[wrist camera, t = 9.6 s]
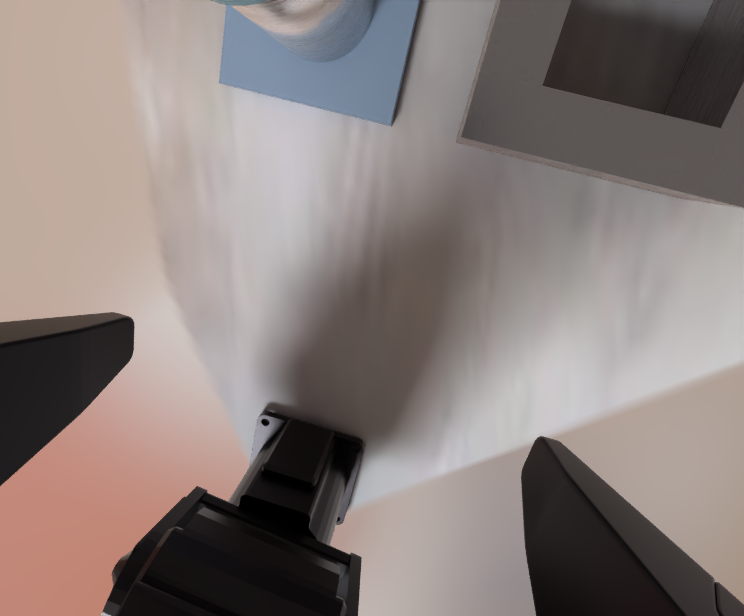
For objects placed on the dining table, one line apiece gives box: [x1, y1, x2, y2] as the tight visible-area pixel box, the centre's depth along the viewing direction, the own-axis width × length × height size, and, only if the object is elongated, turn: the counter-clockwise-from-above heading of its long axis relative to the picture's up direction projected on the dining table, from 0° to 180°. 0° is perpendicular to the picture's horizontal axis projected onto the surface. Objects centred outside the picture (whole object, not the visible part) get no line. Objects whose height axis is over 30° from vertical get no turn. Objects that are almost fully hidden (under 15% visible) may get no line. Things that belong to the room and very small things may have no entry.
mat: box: [219, 0, 421, 126], centre depth 18 cm, size 8×8×1 cm
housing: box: [456, 0, 744, 208], centre depth 15 cm, size 10×10×4 cm
